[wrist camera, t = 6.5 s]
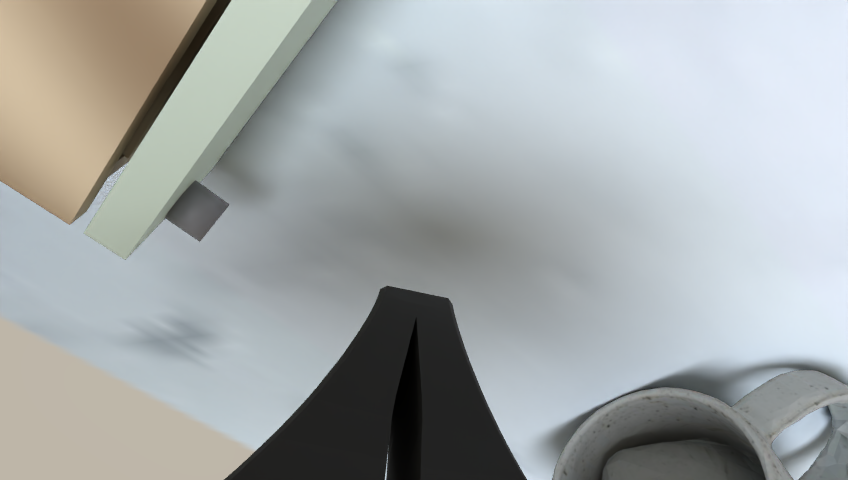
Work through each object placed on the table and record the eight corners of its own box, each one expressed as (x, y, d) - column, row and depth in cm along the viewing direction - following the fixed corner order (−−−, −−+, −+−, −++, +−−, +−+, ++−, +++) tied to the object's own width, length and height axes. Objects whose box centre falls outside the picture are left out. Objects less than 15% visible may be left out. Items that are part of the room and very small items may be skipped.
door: (238, 193, 16) (164, 285, 12) (179, 150, 16) (83, 233, 12) (484, -114, 12) (490, -120, 8) (415, -192, 11) (384, -241, 7)
